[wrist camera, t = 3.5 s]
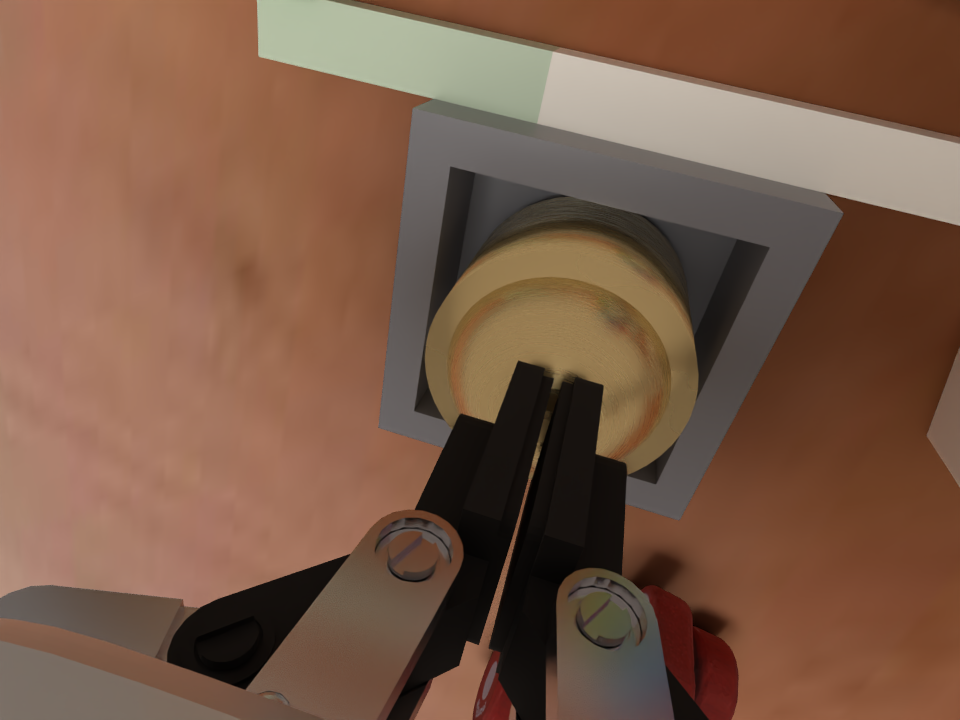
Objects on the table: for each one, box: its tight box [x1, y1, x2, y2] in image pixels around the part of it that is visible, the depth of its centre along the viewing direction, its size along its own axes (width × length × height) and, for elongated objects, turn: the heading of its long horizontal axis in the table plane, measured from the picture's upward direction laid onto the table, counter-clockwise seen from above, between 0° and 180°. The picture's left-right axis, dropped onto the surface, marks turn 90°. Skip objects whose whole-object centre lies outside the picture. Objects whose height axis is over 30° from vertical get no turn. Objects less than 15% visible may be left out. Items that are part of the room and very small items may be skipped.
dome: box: [425, 197, 698, 479], centre depth 14 cm, size 6×6×6 cm
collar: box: [378, 99, 844, 520], centre depth 16 cm, size 9×9×3 cm
